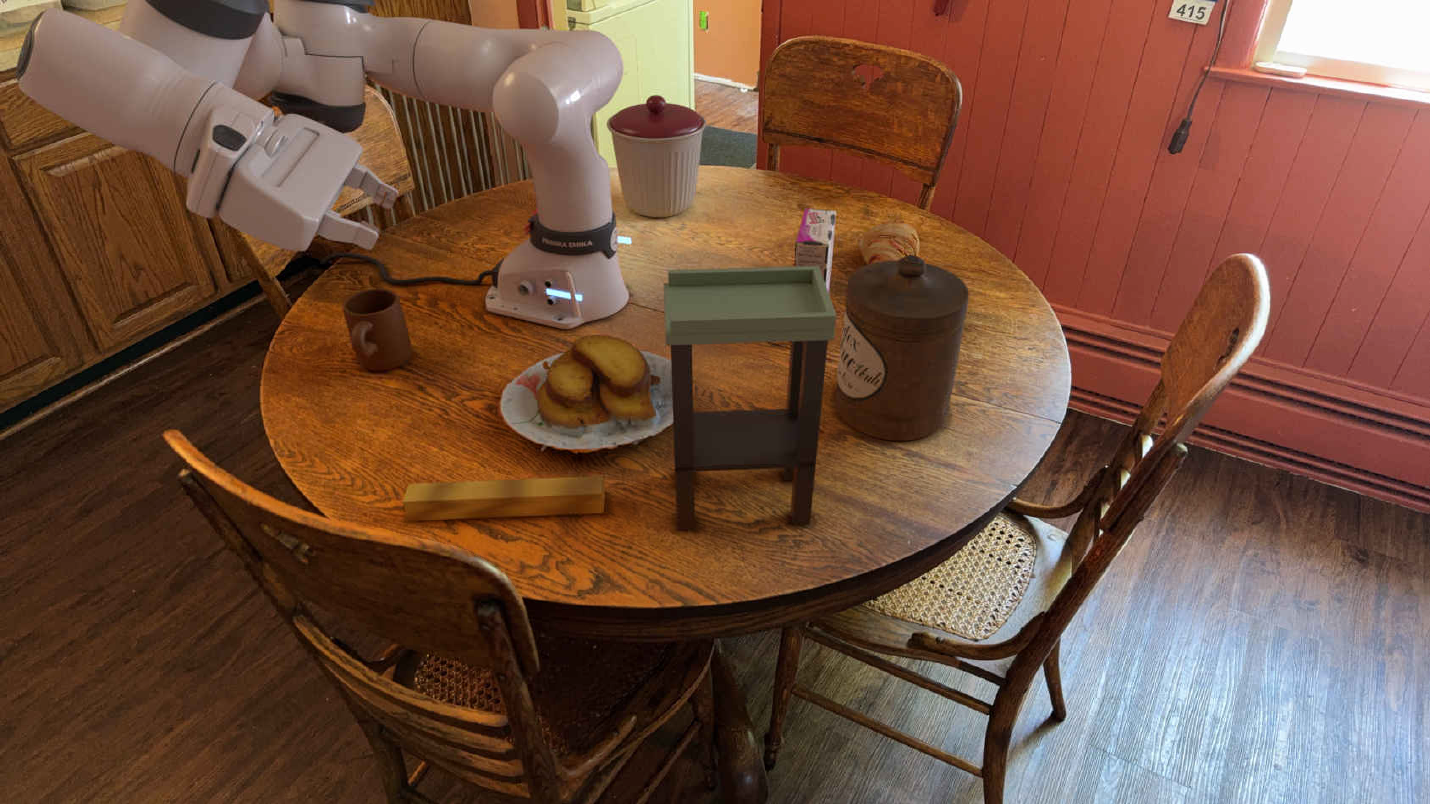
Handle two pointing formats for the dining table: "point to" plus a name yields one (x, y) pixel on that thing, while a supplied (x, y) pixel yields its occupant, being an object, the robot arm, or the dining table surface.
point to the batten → (504, 498)
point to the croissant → (889, 242)
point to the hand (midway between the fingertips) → (386, 219)
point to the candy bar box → (816, 241)
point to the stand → (749, 314)
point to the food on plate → (591, 397)
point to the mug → (377, 329)
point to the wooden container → (899, 348)
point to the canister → (657, 155)
